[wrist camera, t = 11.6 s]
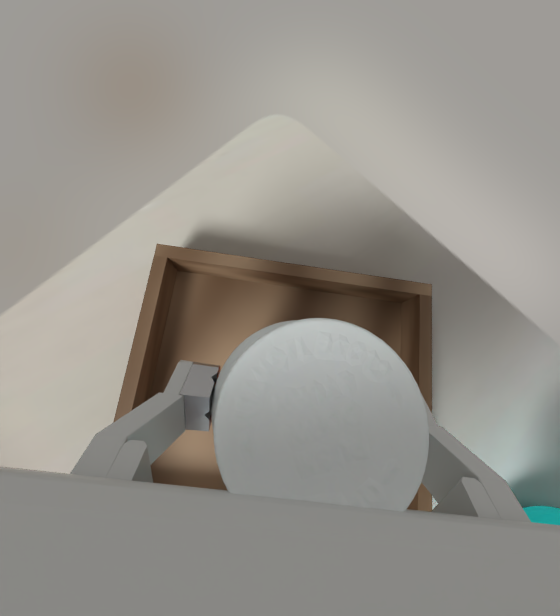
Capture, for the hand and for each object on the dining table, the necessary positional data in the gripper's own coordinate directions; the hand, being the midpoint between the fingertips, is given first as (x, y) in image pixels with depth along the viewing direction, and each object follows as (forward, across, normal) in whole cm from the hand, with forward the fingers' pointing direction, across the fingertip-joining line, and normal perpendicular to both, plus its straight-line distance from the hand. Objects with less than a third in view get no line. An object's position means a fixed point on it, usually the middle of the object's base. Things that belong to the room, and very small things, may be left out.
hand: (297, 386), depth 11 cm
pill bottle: (+4, 0, +5) cm, 7 cm away
